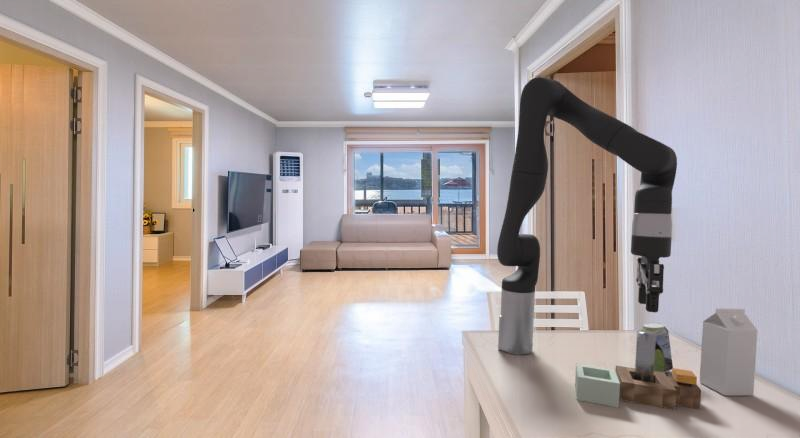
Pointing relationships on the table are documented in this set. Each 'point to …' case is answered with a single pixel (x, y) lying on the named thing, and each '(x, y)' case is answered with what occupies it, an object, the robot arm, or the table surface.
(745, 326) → the milk carton
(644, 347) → the peg
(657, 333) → the beverage can
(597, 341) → the table surface
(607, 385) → the rack
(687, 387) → the socket block
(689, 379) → the orange square-headed peg
